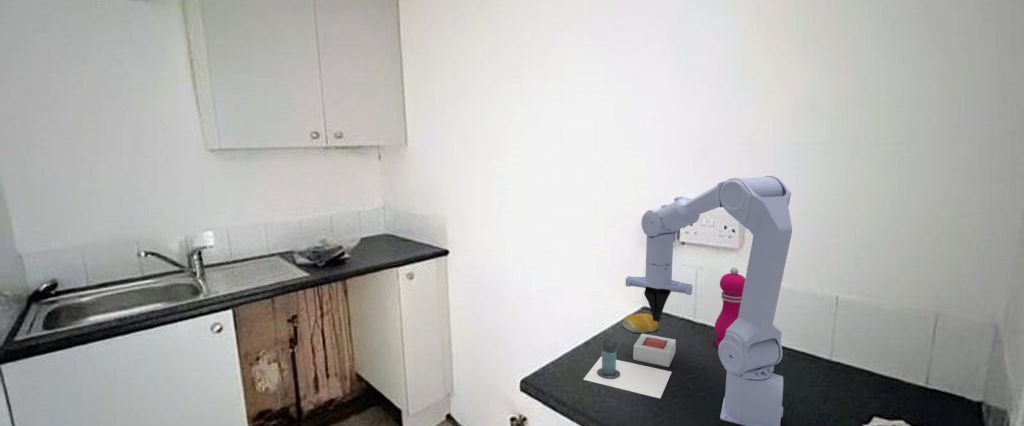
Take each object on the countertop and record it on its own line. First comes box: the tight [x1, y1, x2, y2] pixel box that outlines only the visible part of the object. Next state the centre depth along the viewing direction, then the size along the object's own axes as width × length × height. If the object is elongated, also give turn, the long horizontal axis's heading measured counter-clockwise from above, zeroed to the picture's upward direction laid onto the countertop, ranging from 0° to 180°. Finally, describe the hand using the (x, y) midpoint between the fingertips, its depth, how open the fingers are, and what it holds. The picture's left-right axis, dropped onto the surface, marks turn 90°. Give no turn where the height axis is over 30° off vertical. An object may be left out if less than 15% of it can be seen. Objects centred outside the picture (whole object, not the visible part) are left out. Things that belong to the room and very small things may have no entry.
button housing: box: [632, 333, 677, 368], centre depth 111 cm, size 8×8×4 cm
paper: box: [583, 355, 673, 399], centre depth 102 cm, size 16×12×1 cm
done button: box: [646, 339, 664, 349], centre depth 111 cm, size 4×4×2 cm
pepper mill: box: [714, 267, 746, 348], centre depth 115 cm, size 7×7×20 cm
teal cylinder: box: [601, 339, 618, 376], centre depth 103 cm, size 3×3×7 cm
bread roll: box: [622, 312, 659, 334], centre depth 128 cm, size 8×9×4 cm
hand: (656, 319), depth 109 cm, fingers closed
